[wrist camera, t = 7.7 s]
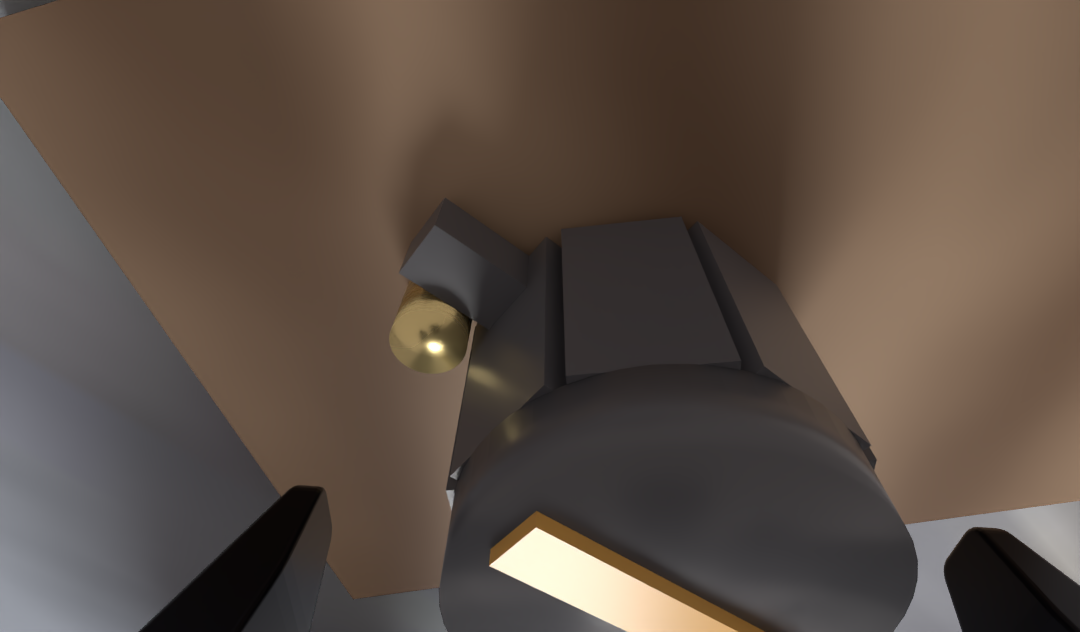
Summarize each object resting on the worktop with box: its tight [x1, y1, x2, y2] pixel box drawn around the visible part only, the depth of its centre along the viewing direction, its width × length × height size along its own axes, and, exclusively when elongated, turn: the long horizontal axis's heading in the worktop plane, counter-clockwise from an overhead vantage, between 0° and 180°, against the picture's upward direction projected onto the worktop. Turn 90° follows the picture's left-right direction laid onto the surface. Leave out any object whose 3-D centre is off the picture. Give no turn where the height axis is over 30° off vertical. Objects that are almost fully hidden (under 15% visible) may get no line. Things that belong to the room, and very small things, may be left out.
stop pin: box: [389, 280, 472, 374], centre depth 10 cm, size 1×1×2 cm
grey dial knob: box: [399, 198, 918, 632], centre depth 9 cm, size 7×5×5 cm
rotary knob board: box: [0, 0, 1080, 599], centre depth 10 cm, size 18×14×5 cm
